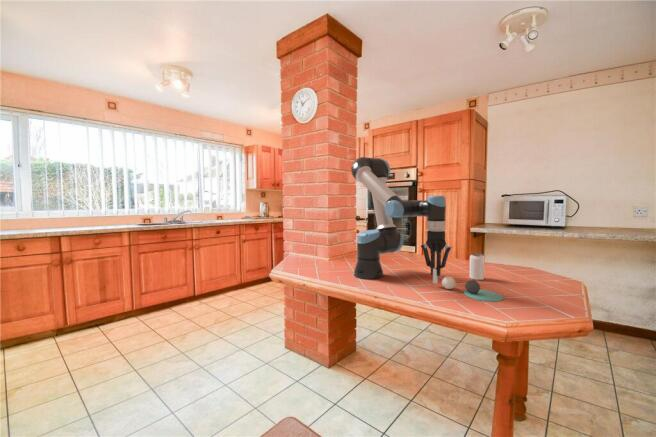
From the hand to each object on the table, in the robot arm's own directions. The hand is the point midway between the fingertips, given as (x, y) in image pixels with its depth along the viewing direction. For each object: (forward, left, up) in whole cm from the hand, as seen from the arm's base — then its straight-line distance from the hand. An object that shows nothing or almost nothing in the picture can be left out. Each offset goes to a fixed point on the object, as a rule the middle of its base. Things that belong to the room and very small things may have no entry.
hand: (435, 282), depth 122 cm
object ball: (+10, +11, +1) cm, 15 cm away
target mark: (+12, +14, -2) cm, 19 cm away
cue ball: (+3, +4, +1) cm, 6 cm away
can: (-11, +25, -2) cm, 28 cm away
